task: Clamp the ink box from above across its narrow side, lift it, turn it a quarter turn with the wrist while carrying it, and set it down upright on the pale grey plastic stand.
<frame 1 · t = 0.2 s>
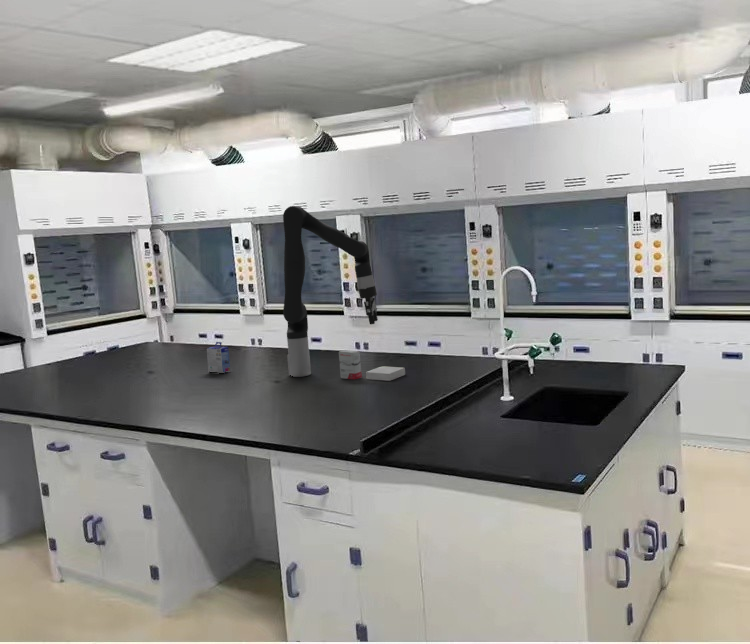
hand: (373, 322, 322), 22 cm above the counter, fingers open, 8 cm apart
ink box: (351, 378, 317), on the counter
stand: (385, 376, 314), on the counter
ink cartridge box: (219, 372, 351), on the counter
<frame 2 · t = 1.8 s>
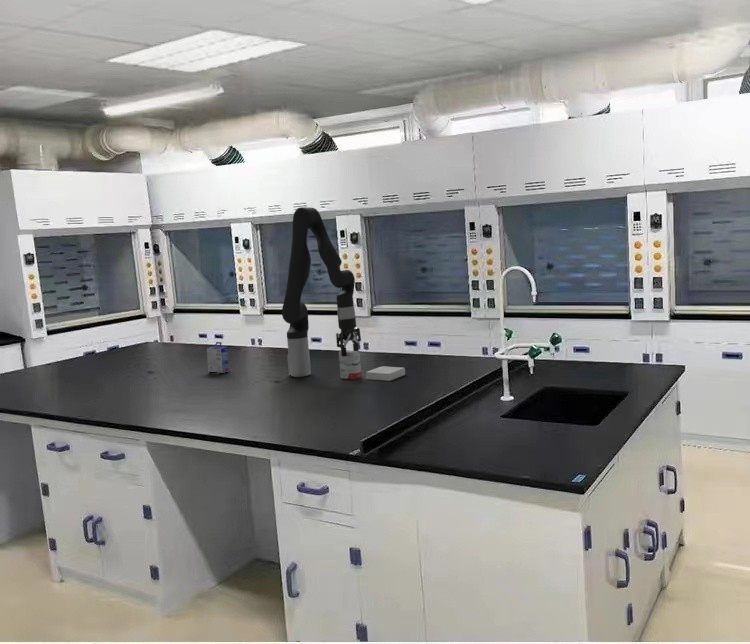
hand: (350, 354, 316), 10 cm above the counter, fingers open, 8 cm apart
nothing on the counter moved.
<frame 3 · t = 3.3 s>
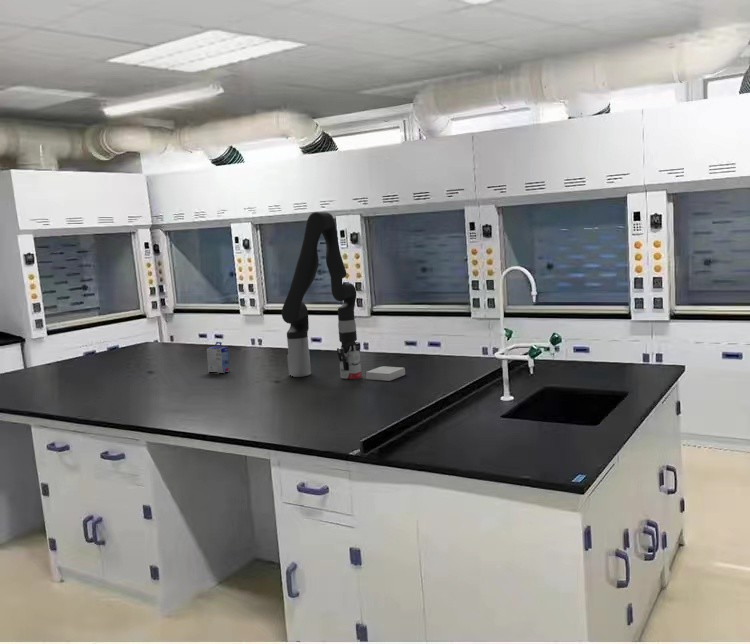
hand: (350, 368, 316), 4 cm above the counter, fingers closed on ink box, 5 cm apart
ink box: (351, 378, 317), on the counter, touching gripper
everything else where it was.
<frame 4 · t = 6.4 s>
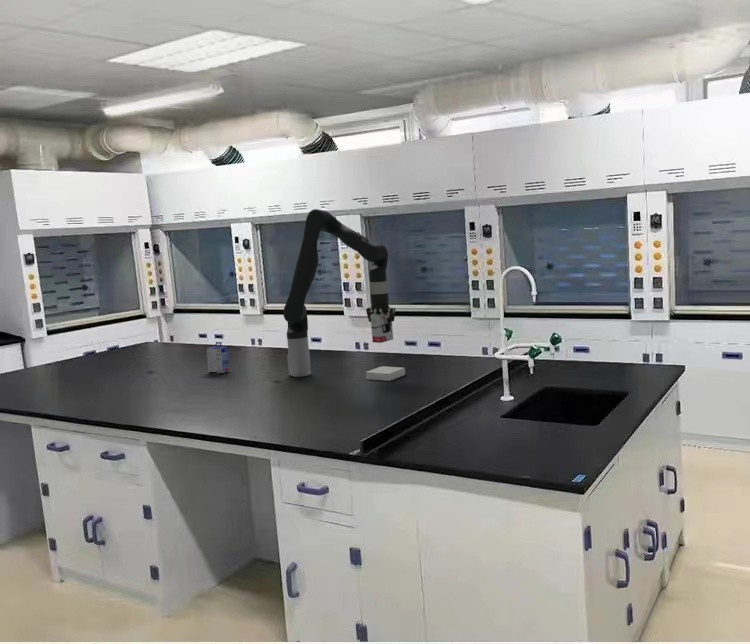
hand: (382, 331, 311), 20 cm above the counter, fingers closed on ink box, 5 cm apart
ink box: (383, 341, 311), point 15 cm above the counter, touching gripper
everything else where it was.
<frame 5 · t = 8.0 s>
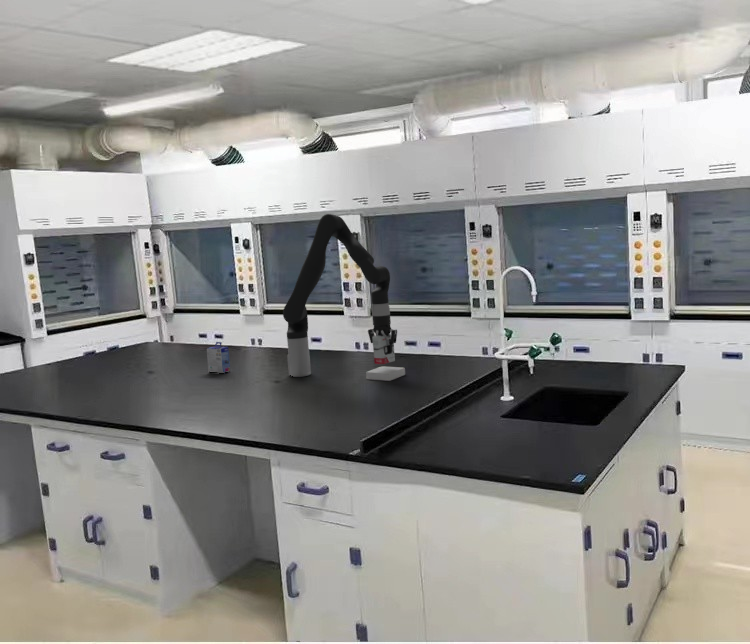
hand: (384, 353, 312), 10 cm above the counter, fingers closed on ink box, 5 cm apart
ink box: (384, 362, 313), point 6 cm above the counter, touching gripper
everything else where it was.
when the fingers open (8 cm above the counter, at t = 9.3 s): ink box drops 1 cm, resting on stand.
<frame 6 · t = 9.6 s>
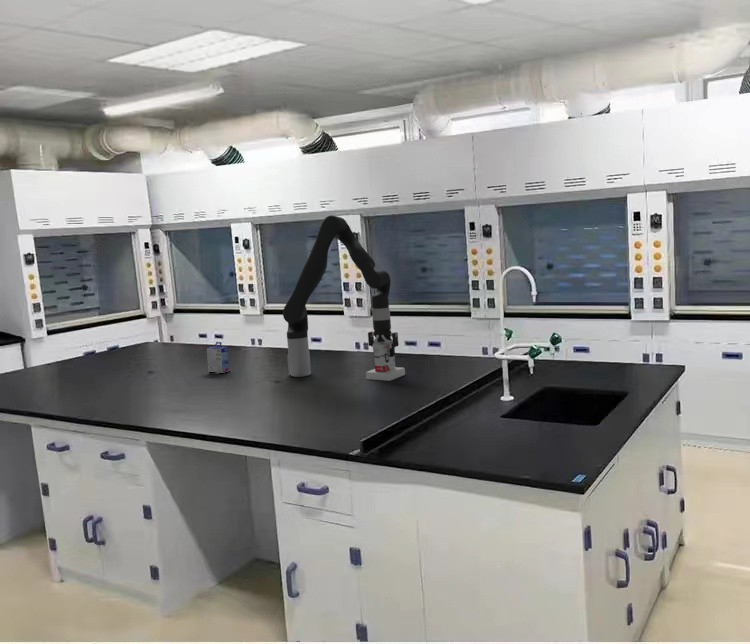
hand: (384, 356, 312), 9 cm above the counter, fingers open, 7 cm apart
ink box: (385, 370, 313), point 3 cm above the counter, touching stand
everything else where it was.
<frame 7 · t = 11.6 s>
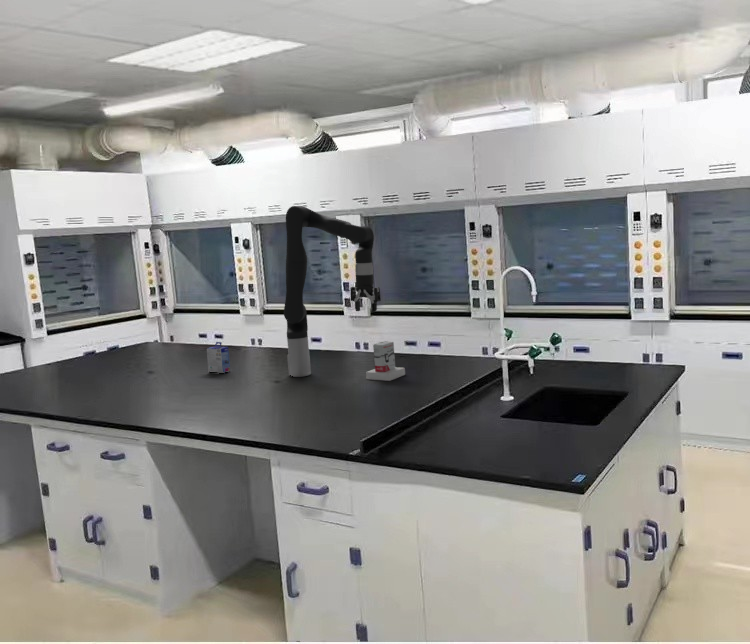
hand: (365, 311, 314), 28 cm above the counter, fingers open, 8 cm apart
nothing on the counter moved.
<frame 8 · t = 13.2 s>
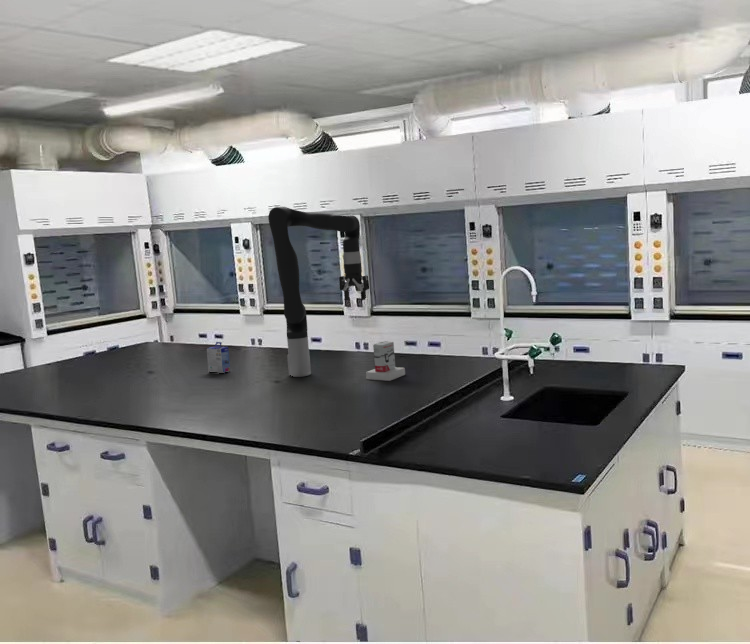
hand: (355, 299, 317), 33 cm above the counter, fingers open, 8 cm apart
nothing on the counter moved.
at the end: ink box inside the target area on the stand (0.1 cm from its centre), point 2.8 cm above the stand's base; ink box tilted 0°; the gripper is holding nothing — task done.
